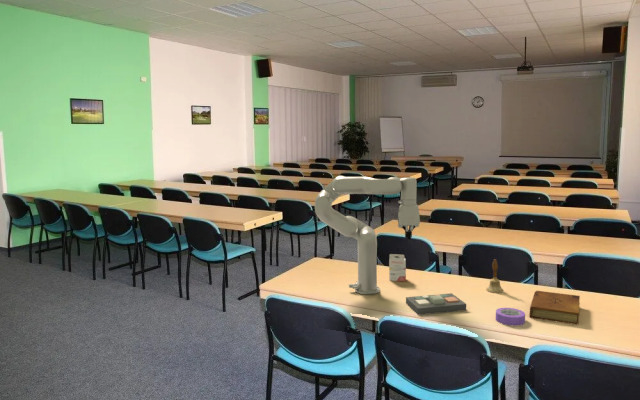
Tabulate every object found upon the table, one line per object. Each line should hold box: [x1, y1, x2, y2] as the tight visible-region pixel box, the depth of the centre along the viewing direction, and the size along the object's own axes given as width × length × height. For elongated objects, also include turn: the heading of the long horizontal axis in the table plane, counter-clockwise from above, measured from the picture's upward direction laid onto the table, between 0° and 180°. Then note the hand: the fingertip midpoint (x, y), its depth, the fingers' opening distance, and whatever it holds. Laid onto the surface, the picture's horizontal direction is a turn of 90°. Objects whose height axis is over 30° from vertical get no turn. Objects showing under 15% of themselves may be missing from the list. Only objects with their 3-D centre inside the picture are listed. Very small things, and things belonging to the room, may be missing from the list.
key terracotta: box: [444, 297, 459, 303], centre depth 228 cm, size 5×5×2 cm
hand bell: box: [485, 258, 504, 294], centre depth 248 cm, size 8×8×16 cm
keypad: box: [405, 292, 467, 316], centre depth 228 cm, size 23×15×4 cm, turn 100°
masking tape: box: [495, 307, 526, 327], centre depth 211 cm, size 12×12×4 cm
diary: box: [529, 290, 581, 325], centre depth 219 cm, size 23×19×6 cm
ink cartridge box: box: [388, 253, 407, 282], centre depth 269 cm, size 9×5×15 cm, turn 73°
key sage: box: [429, 294, 444, 304], centre depth 227 cm, size 5×5×2 cm
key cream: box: [415, 299, 430, 306], centre depth 226 cm, size 5×5×2 cm
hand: (408, 238), depth 248 cm, fingers closed
